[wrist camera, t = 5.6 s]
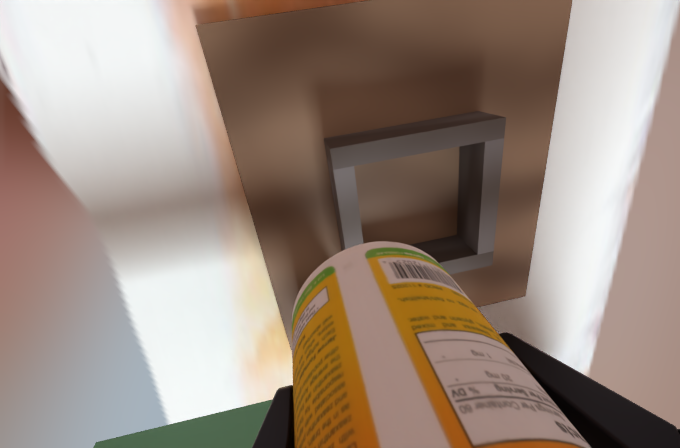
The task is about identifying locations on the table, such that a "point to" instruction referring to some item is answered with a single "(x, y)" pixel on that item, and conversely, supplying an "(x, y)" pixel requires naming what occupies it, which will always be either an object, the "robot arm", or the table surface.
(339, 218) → the bottle stand
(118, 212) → the table surface
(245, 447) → the keeper arm
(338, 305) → the supplement bottle
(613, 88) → the table surface
